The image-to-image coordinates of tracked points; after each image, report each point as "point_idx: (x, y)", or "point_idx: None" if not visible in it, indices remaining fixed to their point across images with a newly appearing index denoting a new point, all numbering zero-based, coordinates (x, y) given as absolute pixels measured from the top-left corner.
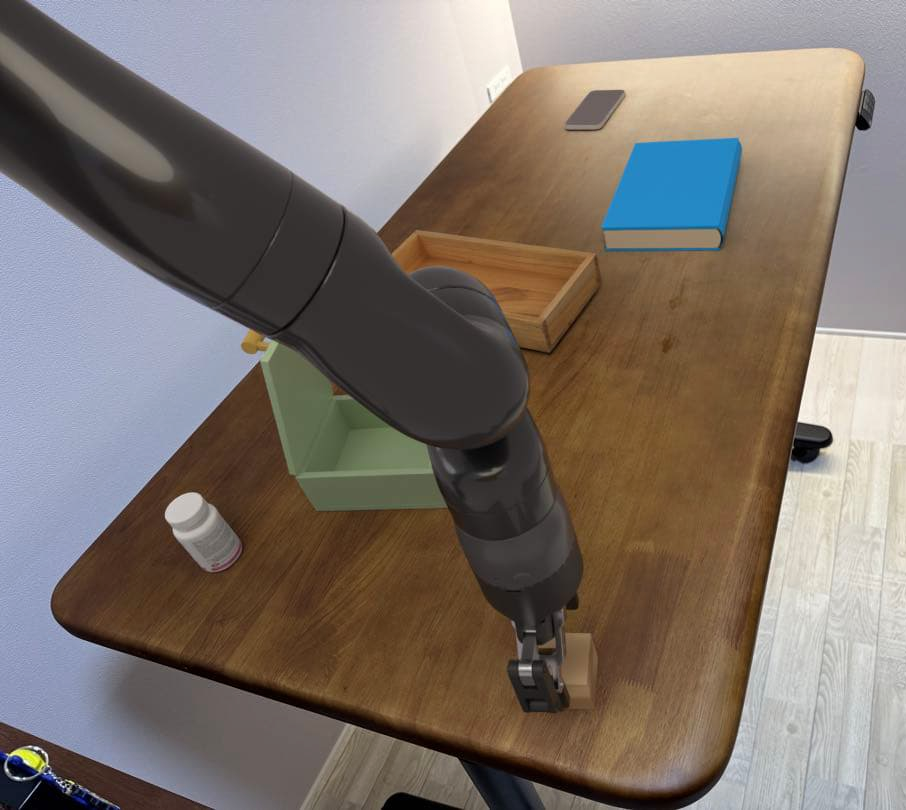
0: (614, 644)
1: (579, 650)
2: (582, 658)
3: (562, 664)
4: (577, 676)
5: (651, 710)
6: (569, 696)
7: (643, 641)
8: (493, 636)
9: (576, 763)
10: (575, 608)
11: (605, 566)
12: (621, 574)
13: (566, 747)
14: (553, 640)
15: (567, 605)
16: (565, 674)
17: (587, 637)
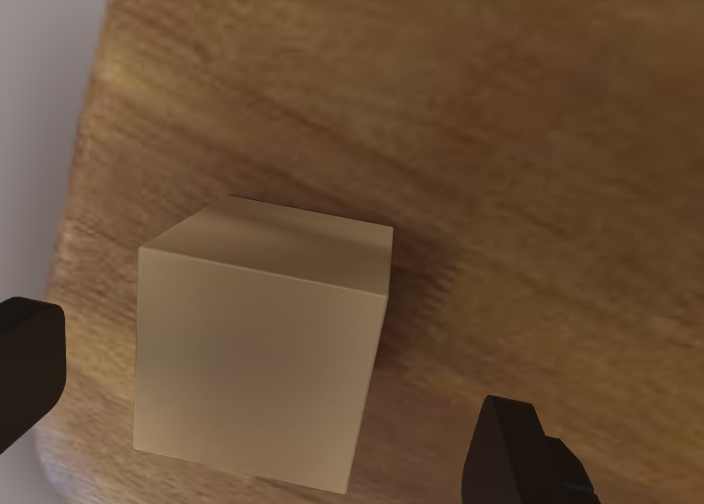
0: (403, 419)
1: (273, 448)
2: (239, 451)
3: (216, 380)
4: (162, 427)
5: (206, 467)
6: (36, 418)
7: (397, 487)
8: (532, 14)
9: (70, 277)
10: (464, 478)
11: (694, 441)
12: (642, 477)
13: (110, 255)
14: (333, 358)
15: (476, 472)
16: (175, 384)
17: (327, 482)
